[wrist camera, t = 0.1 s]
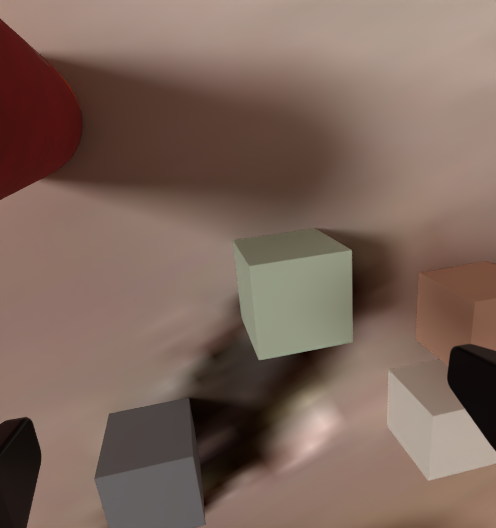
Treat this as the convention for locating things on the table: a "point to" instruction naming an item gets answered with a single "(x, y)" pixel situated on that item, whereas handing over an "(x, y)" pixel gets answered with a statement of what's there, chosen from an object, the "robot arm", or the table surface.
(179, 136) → the table surface
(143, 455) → the charcoal cube
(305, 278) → the sage cube
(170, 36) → the table surface
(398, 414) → the cream cube
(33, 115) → the paper cup
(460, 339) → the terracotta cube
